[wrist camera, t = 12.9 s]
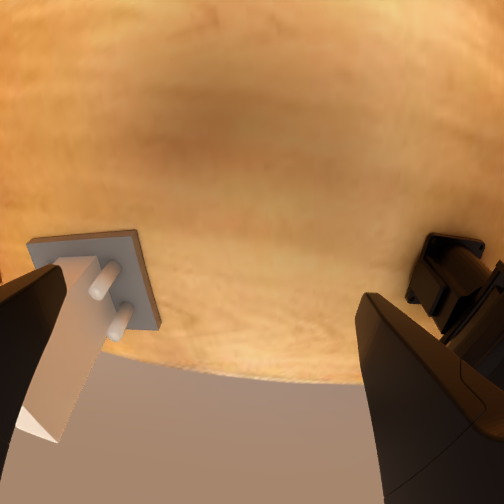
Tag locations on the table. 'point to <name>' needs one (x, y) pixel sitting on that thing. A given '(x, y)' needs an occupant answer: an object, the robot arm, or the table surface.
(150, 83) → the table surface
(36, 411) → the block
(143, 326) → the grey peg board
